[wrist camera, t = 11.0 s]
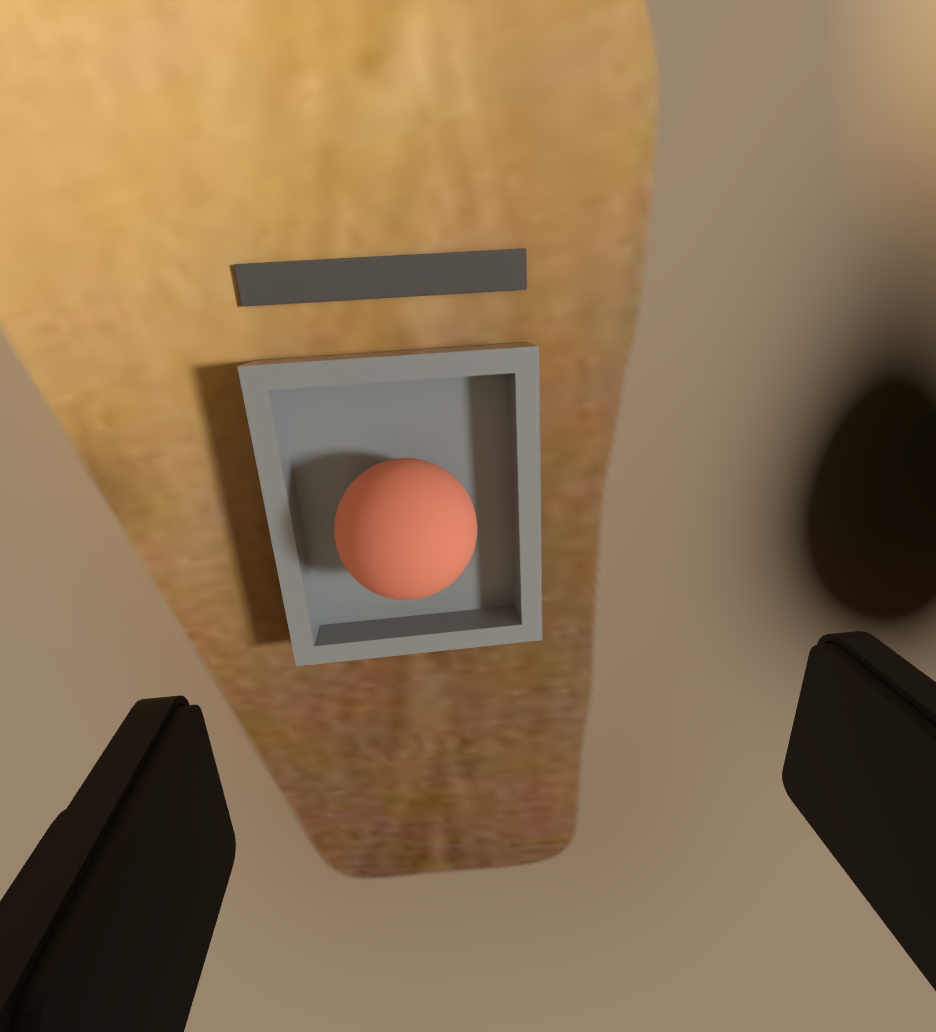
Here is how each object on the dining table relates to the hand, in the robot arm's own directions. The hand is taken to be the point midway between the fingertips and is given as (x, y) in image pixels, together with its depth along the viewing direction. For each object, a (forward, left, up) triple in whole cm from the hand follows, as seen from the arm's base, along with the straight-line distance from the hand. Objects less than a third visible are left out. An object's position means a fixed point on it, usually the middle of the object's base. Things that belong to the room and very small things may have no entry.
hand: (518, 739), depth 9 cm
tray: (+3, -2, -19) cm, 20 cm away
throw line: (-7, -2, -19) cm, 21 cm away
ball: (+3, -2, -16) cm, 16 cm away
